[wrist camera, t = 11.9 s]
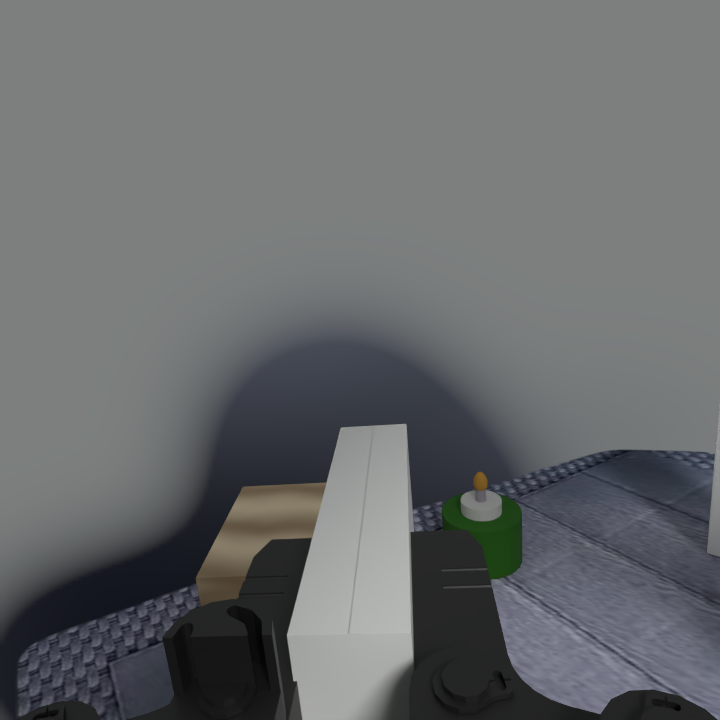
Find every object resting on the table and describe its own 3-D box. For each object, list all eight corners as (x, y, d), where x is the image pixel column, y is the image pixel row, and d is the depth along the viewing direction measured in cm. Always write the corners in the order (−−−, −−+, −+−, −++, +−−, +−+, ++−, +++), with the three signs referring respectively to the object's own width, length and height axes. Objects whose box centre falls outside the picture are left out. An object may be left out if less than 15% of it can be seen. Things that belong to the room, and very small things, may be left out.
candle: (455, 529, 68) (451, 451, 66) (527, 541, 65) (527, 459, 62) (434, 571, 61) (429, 485, 58) (515, 586, 58) (513, 496, 55)
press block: (242, 592, 60) (225, 482, 57) (396, 586, 59) (388, 474, 56) (167, 790, 40) (133, 638, 37) (399, 788, 39) (386, 631, 35)
